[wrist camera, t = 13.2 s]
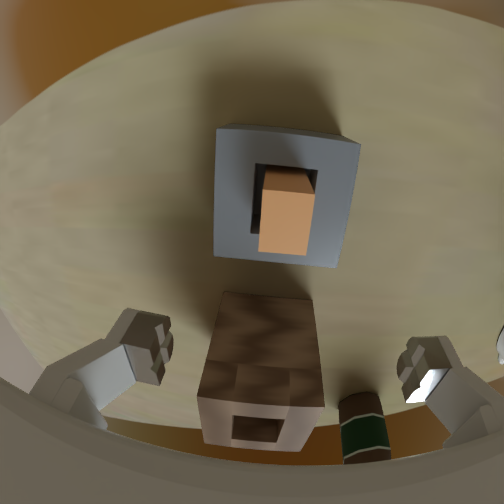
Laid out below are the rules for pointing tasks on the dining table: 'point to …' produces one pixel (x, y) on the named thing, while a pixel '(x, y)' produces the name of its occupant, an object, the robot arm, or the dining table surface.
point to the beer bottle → (363, 429)
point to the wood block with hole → (261, 374)
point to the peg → (286, 210)
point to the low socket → (252, 180)
